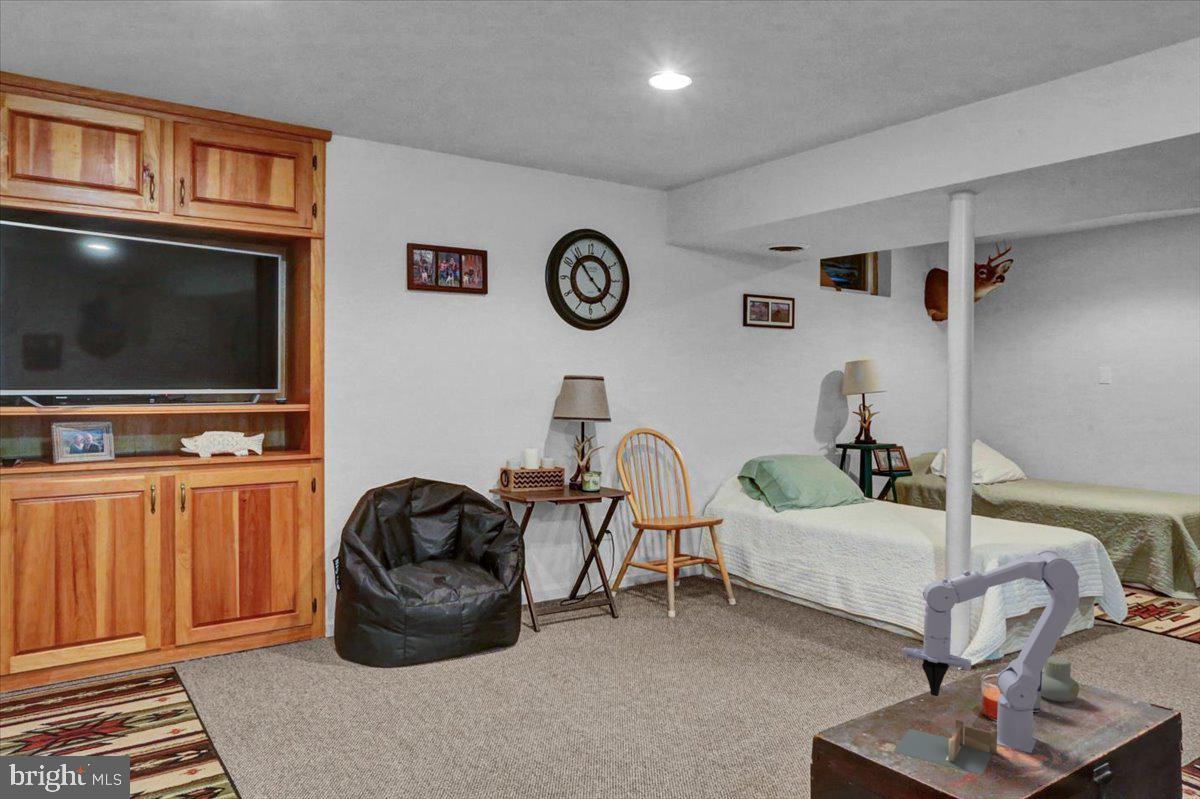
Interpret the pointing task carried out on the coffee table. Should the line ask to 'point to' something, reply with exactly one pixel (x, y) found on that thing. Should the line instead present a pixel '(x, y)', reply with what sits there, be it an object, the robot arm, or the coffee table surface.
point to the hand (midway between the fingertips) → (934, 694)
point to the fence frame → (978, 738)
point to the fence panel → (954, 744)
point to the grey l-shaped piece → (1058, 681)
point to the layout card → (942, 751)
